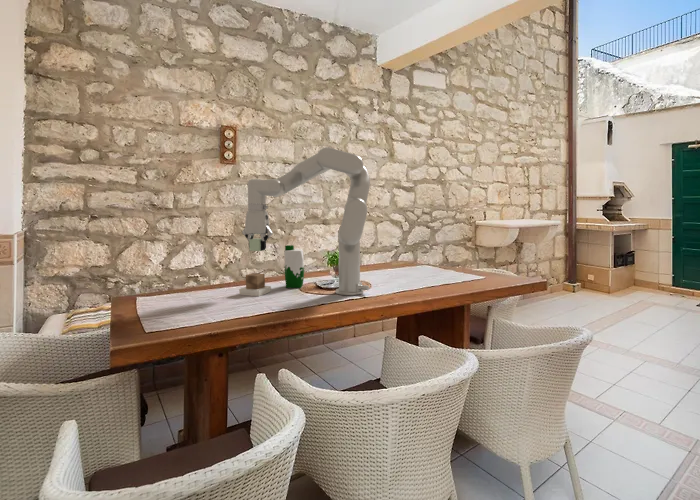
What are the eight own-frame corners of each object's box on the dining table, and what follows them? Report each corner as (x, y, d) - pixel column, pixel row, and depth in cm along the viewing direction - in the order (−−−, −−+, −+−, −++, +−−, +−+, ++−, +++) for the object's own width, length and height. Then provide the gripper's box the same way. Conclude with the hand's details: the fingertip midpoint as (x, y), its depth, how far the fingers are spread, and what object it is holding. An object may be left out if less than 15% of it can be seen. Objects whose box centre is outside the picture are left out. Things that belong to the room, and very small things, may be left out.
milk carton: (287, 284, 202) (286, 244, 200) (305, 284, 202) (304, 244, 200) (283, 288, 194) (282, 246, 191) (302, 288, 193) (302, 246, 191)
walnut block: (264, 286, 185) (264, 273, 184) (257, 289, 179) (257, 275, 179) (253, 285, 187) (253, 273, 186) (245, 288, 181) (245, 275, 181)
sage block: (265, 250, 181) (265, 238, 180) (259, 251, 176) (259, 239, 175) (255, 249, 182) (255, 238, 182) (249, 250, 178) (249, 239, 177)
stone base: (270, 291, 186) (270, 286, 186) (259, 296, 177) (258, 290, 177) (252, 290, 190) (251, 284, 189) (239, 294, 180) (239, 289, 180)
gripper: (278, 208, 178) (278, 249, 180) (244, 207, 183) (245, 248, 185) (270, 208, 171) (270, 251, 173) (235, 207, 176) (235, 249, 178)
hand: (257, 249), depth 179 cm, fingers closed on sage block, 5 cm apart
